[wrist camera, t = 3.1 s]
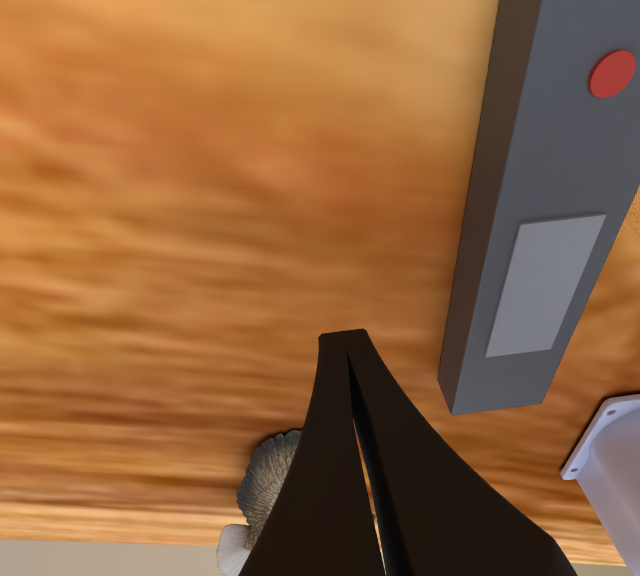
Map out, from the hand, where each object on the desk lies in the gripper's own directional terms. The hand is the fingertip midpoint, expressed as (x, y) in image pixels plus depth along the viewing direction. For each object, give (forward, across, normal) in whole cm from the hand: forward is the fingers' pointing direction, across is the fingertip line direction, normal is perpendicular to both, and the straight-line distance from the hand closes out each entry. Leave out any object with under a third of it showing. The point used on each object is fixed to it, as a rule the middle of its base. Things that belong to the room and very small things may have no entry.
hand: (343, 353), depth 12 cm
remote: (+5, -8, 0) cm, 9 cm away
